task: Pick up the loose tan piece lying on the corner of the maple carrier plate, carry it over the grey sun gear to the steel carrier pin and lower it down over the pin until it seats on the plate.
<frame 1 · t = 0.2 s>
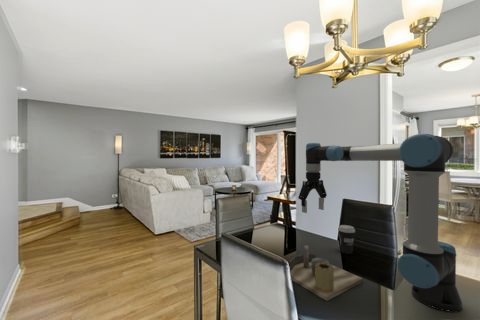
hand: (313, 211, 125), 28 cm above the table, fingers open, 13 cm apart
tan piece: (324, 287, 97), point 1 cm above the table, touching carrier
carrier: (320, 277, 108), on the table
coffee cup: (346, 252, 138), on the table
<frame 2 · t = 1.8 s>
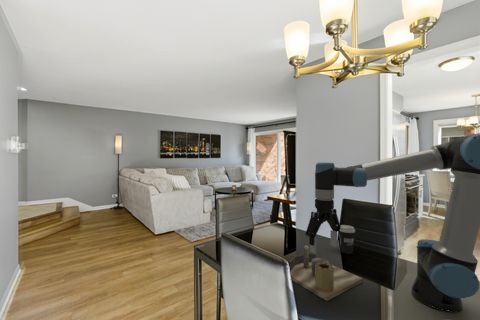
hand: (323, 249, 97), 18 cm above the table, fingers open, 13 cm apart
nothing on the table moved.
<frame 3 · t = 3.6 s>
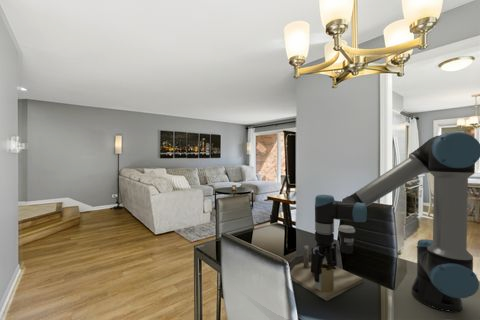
hand: (324, 286, 97), 2 cm above the table, fingers closed on tan piece, 7 cm apart
tan piece: (324, 287, 97), point 2 cm above the table, touching carrier, gripper
everything else where it was.
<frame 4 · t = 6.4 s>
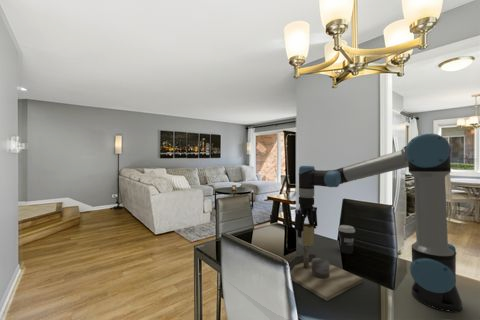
hand: (306, 242, 115), 14 cm above the table, fingers closed on tan piece, 7 cm apart
tan piece: (305, 243, 116), point 13 cm above the table, touching gripper
everything else where it was.
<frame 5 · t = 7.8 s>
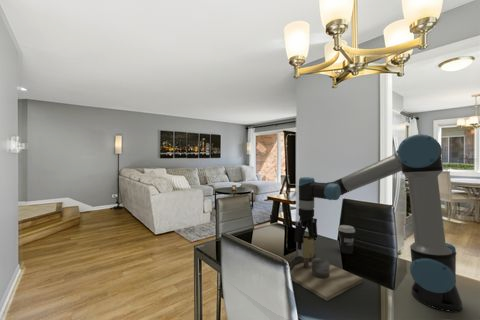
hand: (306, 253, 116), 8 cm above the table, fingers closed on tan piece, 7 cm apart
tan piece: (305, 254, 116), point 8 cm above the table, touching gripper
everything else where it was.
when the fingers open (4 cm above the table, at t = 9.2 s): tan piece drops 2 cm, resting on carrier.
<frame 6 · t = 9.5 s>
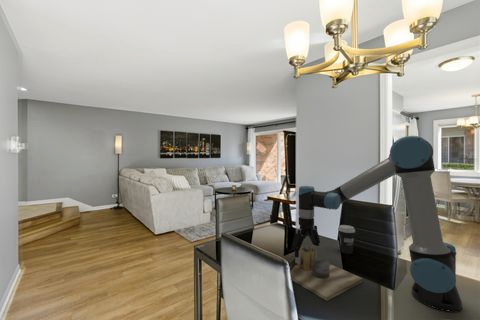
hand: (306, 260, 115), 5 cm above the table, fingers open, 11 cm apart
tan piece: (306, 267, 115), point 1 cm above the table, touching carrier
everything else where it was.
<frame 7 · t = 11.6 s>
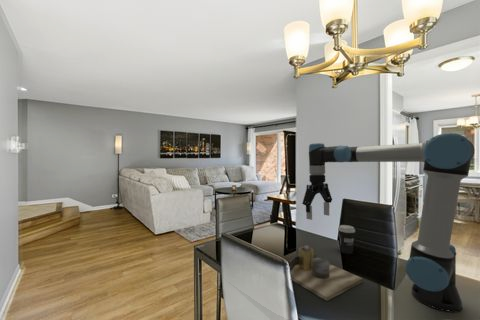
hand: (318, 217, 115), 27 cm above the table, fingers open, 13 cm apart
nothing on the table moved.
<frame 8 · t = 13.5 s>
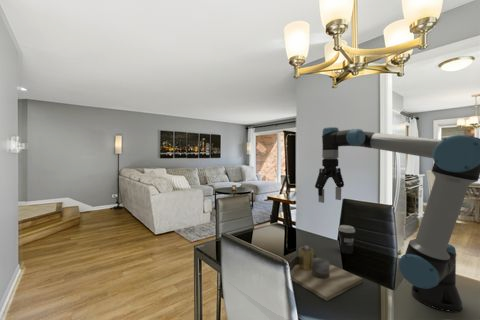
hand: (330, 201, 115), 35 cm above the table, fingers open, 13 cm apart
nothing on the table moved.
at the end: tan piece 0.0 cm from the target spot on the carrier, point 1.5 cm above the carrier's base; the gripper is holding nothing; tan piece tilted 0° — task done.
